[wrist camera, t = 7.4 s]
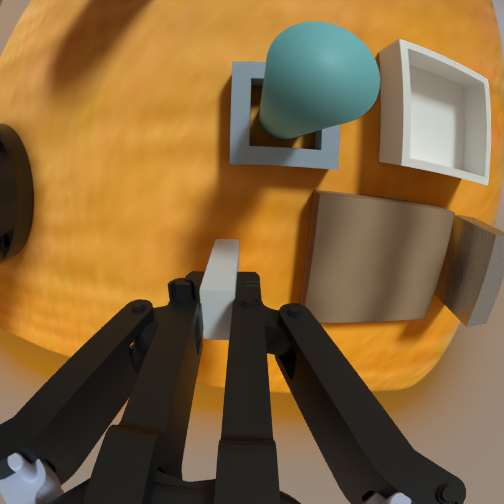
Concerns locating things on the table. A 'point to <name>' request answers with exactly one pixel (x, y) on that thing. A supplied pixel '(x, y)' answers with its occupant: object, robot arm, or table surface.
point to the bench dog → (471, 270)
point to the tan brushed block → (372, 257)
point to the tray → (433, 113)
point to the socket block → (276, 156)
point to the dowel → (316, 80)
